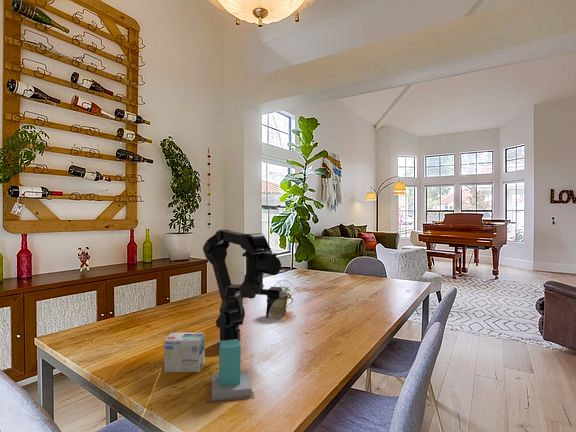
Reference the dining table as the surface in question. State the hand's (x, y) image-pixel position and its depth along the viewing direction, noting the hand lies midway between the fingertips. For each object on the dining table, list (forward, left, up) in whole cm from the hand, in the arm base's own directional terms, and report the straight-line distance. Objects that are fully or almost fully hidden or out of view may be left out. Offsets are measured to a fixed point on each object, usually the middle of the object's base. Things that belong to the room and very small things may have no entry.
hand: (254, 316), depth 111 cm
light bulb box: (-17, -15, -13) cm, 26 cm away
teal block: (+1, -23, -10) cm, 25 cm away
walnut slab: (+1, -23, -14) cm, 27 cm away
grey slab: (+1, -23, -12) cm, 26 cm away
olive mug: (-1, +42, -13) cm, 44 cm away
